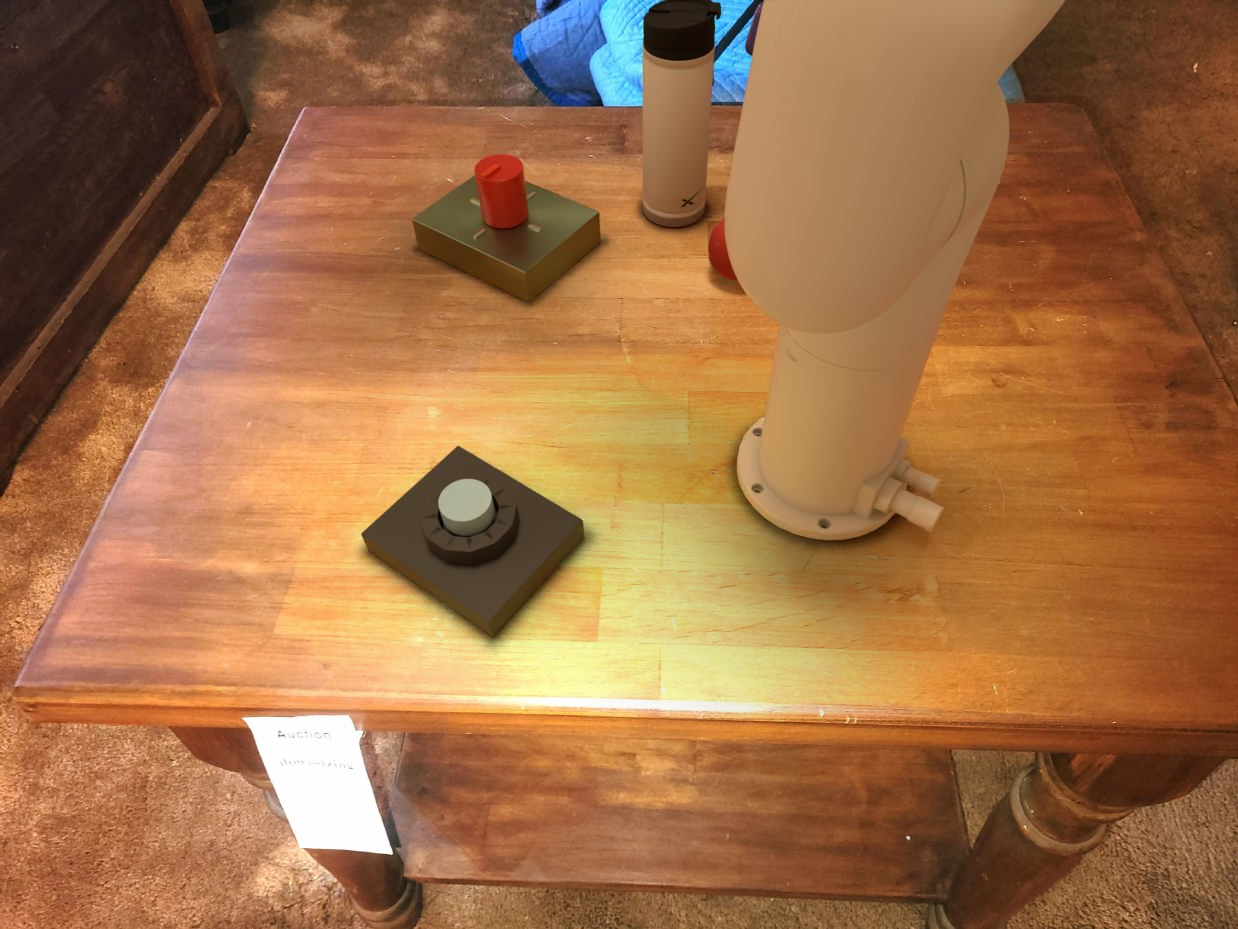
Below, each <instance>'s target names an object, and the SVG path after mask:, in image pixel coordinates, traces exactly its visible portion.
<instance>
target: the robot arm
mask: <svg viewBox="0 0 1238 929" xmlns="http://www.w3.org/2000/svg"><path fill="white" fill-rule="evenodd" d="M763 2H764V3H763V7H762V11H761V16H760V20H759V25H758V30H757V34H756V39H755V44H754V50H753V55H752V56H751V61H750V66H749V69H748V70H749V71H748V76H747V81H746V85H745V86H746V87H745V90H744V91H745V92H744V97H743V103H742V108H741V111H740V112H741V113H740V118H739V123H738V129H737V134H736V139H735V144H734V149H733V154H732V160H731V164H730V170H729V175H728V182H727V187H726V193H725V194H726V195H725V202H724V218H723V219H724V227H725V239H726V246H727V250H728V255H729V259H730V262H731V265H732V268H733V270H734V273H735V275H736V277H737V279H738V281H737V282H738V283H739V285H740V286H741V288H742V290H743V291H744V293H745V295H746V296H747V297H748V298H749V300H750V301H751V302H752V303H753V304H754V305H755V306H756V308H757V309H759V310H760V311H761V312H762V313H763V314H764V315H765V316H767V317H768V318H770V319H771V320H772V321H774V322H776V323H778V330H777V336H776V341H775V349H774V355H773V361H772V368H771V374H770V380H769V387H768V391H767V392H768V393H767V399H766V404H765V410H764V416H762V417H760V418H759V419H757V420H756V422H755V423H753V424H752V425H751V426H750V427H749V429H748V430H747V431H746V433H745V434H744V435H743V437H742V440H741V442H740V444H739V446H738V453H737V457H736V475H737V480H738V485H739V486H740V489H741V491H742V493H743V495H744V498H746V500H747V501H748V502H749V504H750V505H751V506H752V508H753V509H754V510H755V511H756V512H757V513H758V514H759V515H761V516H762V517H763V518H764V519H766V521H768V522H770V523H772V524H773V525H774V526H776V527H778V528H780V529H782V530H785V531H787V532H789V533H790V534H793V535H796V536H801V537H804V538H807V539H813V540H821V541H844V540H850V539H853V538H859V537H862V536H864V535H867V534H870V533H871V532H874V531H876V530H878V529H879V528H881V527H882V526H883V525H885V524H886V523H887V522H888V521H889V520H890V519H892V517H893V516H894V515H896V514H897V515H900V516H902V518H905V519H907V521H908V522H910V523H912V524H914V525H916V526H918V527H920V528H922V529H924V530H926V531H928V532H930V533H931V532H933V530H934V528H935V527H936V525H937V523H938V522H939V520H940V518H941V516H942V514H943V512H944V510H945V507H944V506H942V505H940V504H937V503H935V502H933V501H932V500H929V499H927V498H925V497H923V496H921V495H919V496H918V495H917V494H914V493H912V492H910V491H908V490H907V486H910V487H912V488H914V489H915V490H916V491H918V492H920V493H922V494H925V495H927V496H929V497H931V498H932V497H933V496H934V494H935V493H936V491H937V489H938V488H939V485H940V483H941V481H942V480H941V479H939V478H938V477H935V476H933V475H931V474H929V473H927V472H925V471H924V472H923V471H921V470H919V469H916V468H914V467H912V466H911V465H912V462H911V461H909V460H908V459H906V456H907V453H908V450H909V447H910V445H911V441H910V440H909V439H907V438H905V437H903V436H902V435H903V433H904V430H905V427H906V425H907V424H906V423H907V421H908V419H909V415H910V413H911V410H912V409H911V408H912V406H913V403H914V402H915V398H916V395H917V392H918V389H919V387H920V383H921V380H922V378H923V375H924V372H925V370H926V366H927V364H928V360H929V358H930V354H931V352H932V349H933V347H934V343H935V341H936V339H937V336H938V334H939V330H940V328H941V325H942V322H943V319H944V317H945V313H946V312H947V308H948V305H949V302H950V299H951V297H952V294H953V292H954V289H955V287H956V284H957V281H958V279H959V276H960V274H961V271H962V269H963V266H964V265H965V262H966V259H967V257H968V255H969V253H970V250H971V248H972V246H973V244H974V242H975V239H976V237H977V235H978V233H979V230H980V228H981V226H982V224H983V221H984V219H985V217H986V215H987V212H988V209H989V208H990V206H991V203H992V201H993V199H994V196H995V194H996V192H997V188H998V187H999V183H1000V181H1001V177H1002V175H1003V171H1004V168H1005V164H1006V159H1007V156H1008V150H1009V144H1010V117H1009V116H1010V115H1009V110H1008V106H1007V102H1006V99H1005V95H1004V92H1003V90H1002V87H1001V86H1000V84H999V82H1000V80H1001V78H1002V77H1003V75H1004V74H1005V73H1006V71H1007V70H1008V69H1009V68H1010V66H1012V64H1013V63H1014V62H1015V61H1016V60H1017V58H1019V56H1020V55H1021V54H1022V53H1023V52H1024V51H1025V50H1026V49H1027V48H1028V47H1029V45H1030V44H1031V43H1032V42H1033V41H1034V40H1036V38H1037V37H1038V36H1039V34H1040V33H1041V32H1042V31H1043V30H1044V29H1045V27H1046V26H1047V25H1048V24H1049V23H1050V21H1051V20H1052V19H1053V18H1054V17H1055V16H1056V14H1057V12H1058V11H1059V10H1060V9H1061V8H1062V6H1063V5H1064V3H1065V2H1066V0H763Z"/></svg>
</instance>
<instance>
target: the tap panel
mask: <svg viewBox="0 0 1238 929" xmlns="http://www.w3.org/2000/svg"><path fill="white" fill-rule="evenodd" d="M525 185H526V194H527V202H528V211H529V214H528V217H527V219H526V220H525V221H524V222H523V223H521V224H519V225H517V226H515V227H511V228H495V227H492V226H489V225H488V224H486V223H485V222H484V220H483V218H482V213H481V208H480V202H479V196H478V190H477V184H476V178H475V174H474V175H473V176H471V177H470V178H468V179H467V180H465V181H464V182H462V183H461V184H460V185H459V186H457V187H455V188H454V189H452V190H451V191H450V192H448V193H447V194H445V195H444V196H442V197H441V198H439V199H438V200H436V201H435V202H434V203H433V204H431V205H430V206H428V207H427V208H425V209H424V210H422V211H421V212H420V213H418V214H417V215H415V216H414V217H412V218H411V222H412V226H413V227H412V228H413V230H414V235H415V238H416V239H415V240H416V244H417V247H418V250H420V251H422V252H424V253H426V254H428V255H430V256H432V257H434V258H436V259H438V260H440V261H442V262H444V263H446V264H449V265H451V266H452V267H455V268H456V269H459V270H461V271H462V272H464V273H466V274H469V275H471V276H472V277H475V278H477V279H479V280H481V281H483V282H485V283H488V284H490V285H492V286H493V287H495V288H497V289H499V290H501V291H504V292H505V293H507V294H510V295H511V296H513V297H516V298H518V299H520V300H522V301H524V302H526V303H531V301H533V300H534V299H536V297H537V296H539V295H540V294H542V293H543V291H544V290H546V289H547V288H548V287H549V286H550V285H552V284H553V283H554V282H556V280H558V279H559V278H560V277H561V276H563V275H564V274H565V273H566V272H567V271H568V270H569V269H571V268H572V267H573V266H574V265H575V264H577V263H578V262H579V261H581V259H583V257H585V256H586V255H588V253H590V252H591V251H592V250H594V248H596V247H597V246H598V245H599V244H601V242H602V239H601V218H600V217H601V216H600V211H598V210H597V209H594V208H591V207H589V206H587V205H584V204H582V203H579V202H577V201H575V200H573V199H570V198H567V197H565V196H563V195H560V194H558V193H555V192H554V191H551V190H549V189H546V188H544V187H542V186H539V185H537V184H535V183H532V182H530V181H527V180H525Z"/></svg>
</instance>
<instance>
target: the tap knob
mask: <svg viewBox="0 0 1238 929" xmlns="http://www.w3.org/2000/svg"><path fill="white" fill-rule="evenodd" d="M473 171H474V175H475V178H476V184H477V190H478V196H479V202H480V208H481V213H482V218H483V220H484V222H485V223H486V224H488V225H489V226H492V227H495V228H511V227H515V226H517V225H519V224H521V223H523V222H524V221H525V220H526V219H527V217H528V214H529V211H528V202H527V194H526V185H525V181H526V177H525V169H524V163H523V162H522V160H521V159H520V158H518V157H516V156H514V155H512V154H505V153H500V154H492V155H488V156H485V157H483V158H481V159H480V160H478V162H477V163H476V164H475V165H474V170H473Z"/></svg>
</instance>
